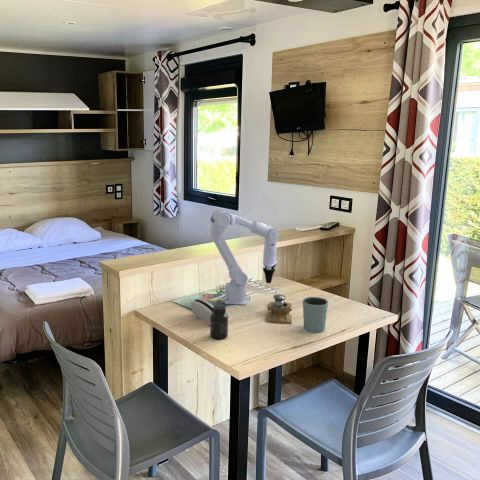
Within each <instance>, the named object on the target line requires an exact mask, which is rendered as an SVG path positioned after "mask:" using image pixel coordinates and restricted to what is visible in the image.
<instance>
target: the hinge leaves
mask: <svg viewBox="0 0 480 480" xmlns="http://www.w3.org/2000/svg"><path fill="white" fill-rule="evenodd" d="M274 304H275V301H269V305H268V306H269V307H268V310H270V312H269V313H268V314H267V323H273V324H277V323H278V324H292V319H293V318H292V314H290V312H291V311H292V309H293V308H292V302H286V301H284V306H283V307H277V306H275V305H274Z"/></svg>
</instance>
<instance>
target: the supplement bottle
mask: <svg viewBox="0 0 480 480" xmlns="http://www.w3.org/2000/svg"><path fill="white" fill-rule="evenodd" d="M213 306H214V307H213V313H212V314H211V316H210V324H209V329H210V330H209V336H210V338H211V339H212V338H213V339H212V340H215V339H216V341H219V340H220V341H222V339H223V340H226V339H227V338H228V336H229V335H228V334H229V315H228V314H227V313H226V312H227V311H226V309H227V308H226V306H225V305H222V304H221V305H220V304H218V305H217V304H216V305H213Z"/></svg>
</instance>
